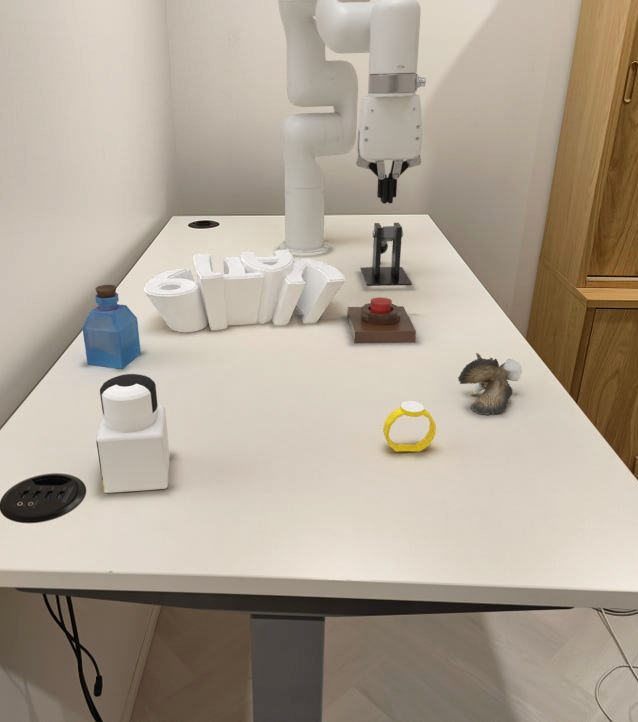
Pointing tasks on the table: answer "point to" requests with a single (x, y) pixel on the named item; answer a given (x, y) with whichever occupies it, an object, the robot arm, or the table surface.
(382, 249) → the press lever
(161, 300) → the white letter sculpture
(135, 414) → the medicine bottle
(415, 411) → the watch
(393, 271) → the lever bracket
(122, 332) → the perfume bottle
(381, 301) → the button
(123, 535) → the table surface
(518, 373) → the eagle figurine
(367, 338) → the button block
